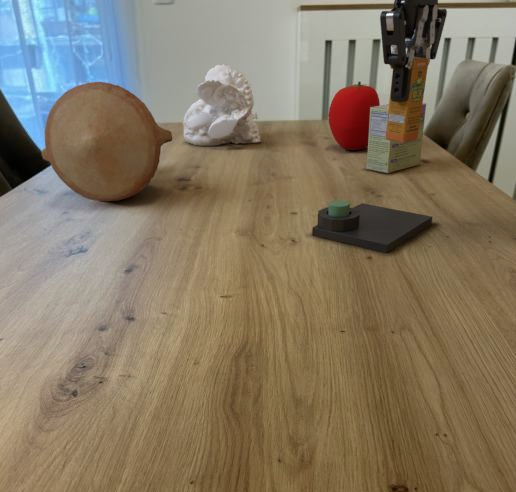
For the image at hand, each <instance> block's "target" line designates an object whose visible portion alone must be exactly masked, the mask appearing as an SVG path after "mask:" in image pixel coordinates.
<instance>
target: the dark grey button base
mask: <svg viewBox="0 0 516 492" xmlns="http://www.w3.org/2000/svg"><path fill="white" fill-rule="evenodd" d="M328 209H329V206H328V207H323V208H321V209H320V210H318V212H317V225H315V226H313V227H311V228H312V229H311V231H312V236H314V237H318V238H322V239H326V240H330V241H334V242H340V243H342V244H343V243H344V244H347V245H352V246H356V247H360V248H364V249H369V250H373V251H377V252H380V253H385V254H387V253H389V252H391V251H393V250H394V249H395V248H397V247H398V246H401V244H404V242H407V241H408V240H409V239H411V238H412V237H414V236H416V235H417V234H419V233H420V232H422V231H423V230H425V229H427V228H428V227H430V226H432V224H433V216H431V215H427V214H421V213H417V212H410V211H405V210H400V209H395V208H389V207H384V206H378V205H374V204H368V203H363V202H362V203H360V204H358V205H355V206H353V207H350V213H349V216H344V217H334V216H329V215H328Z"/></svg>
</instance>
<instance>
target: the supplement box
mask: <svg viewBox="0 0 516 492" xmlns="http://www.w3.org/2000/svg"><path fill="white" fill-rule="evenodd" d="M428 62H429V60H428V59H426V58H421V57H414V58H413V63H412V67H411V69H408V70H411V80H410V90H409V98H408V100H407V101H405V102H393V101H392V100H391V90H390V92H389V101H388V104H389V109H388V118H387V127H386V137H385V138H386V140H390V141H395V142H401V143H405V142H409V141H412V140H416V139H417V138H418V131H419V124H420V117H421V110H422V104H423V103H424V96H425V89H426V88H425V87H426V81H427V74H428V68H429V65H428ZM392 75H393V72H392ZM392 75H391V76H392ZM390 82H391V84H390V88H391V87H392V81H390Z"/></svg>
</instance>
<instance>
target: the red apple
mask: <svg viewBox="0 0 516 492" xmlns="http://www.w3.org/2000/svg"><path fill="white" fill-rule="evenodd" d="M375 106H381V104H380V97H379V94H378V92H377V90H376V89H375V88H374V87H373V86H371V85H366V84H362V81H357V84H352V85H349V86H345V87H343V88H341V89H339V90H338V91H337V92H336V93H335V94H334V96H333V98H332V100H331V103H330V106H329V110H328V124H329V128H330V132H331V134H332V137H333V138H334V140H335V142H336V143H337V144H338V145H339V147H341V148H342V149H344V150H347V151H358V150H363V149H365V148H368V139H369V122H370V107H375Z"/></svg>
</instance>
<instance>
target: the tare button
mask: <svg viewBox="0 0 516 492" xmlns="http://www.w3.org/2000/svg"><path fill="white" fill-rule="evenodd" d="M328 207H329V209H328V215H329V216H334V217H344V216H349V213H350V208H351V203H350V201H348V200H344V199H343V200H342V199H335V200H331V201H329V202H328Z"/></svg>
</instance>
